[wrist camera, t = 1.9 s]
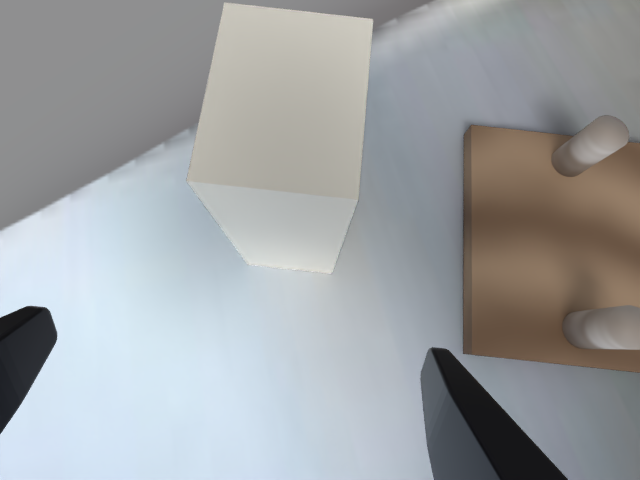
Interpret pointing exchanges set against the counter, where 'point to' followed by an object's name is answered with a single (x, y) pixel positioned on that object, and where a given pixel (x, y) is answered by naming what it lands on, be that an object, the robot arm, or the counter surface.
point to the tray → (553, 246)
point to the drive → (283, 133)
